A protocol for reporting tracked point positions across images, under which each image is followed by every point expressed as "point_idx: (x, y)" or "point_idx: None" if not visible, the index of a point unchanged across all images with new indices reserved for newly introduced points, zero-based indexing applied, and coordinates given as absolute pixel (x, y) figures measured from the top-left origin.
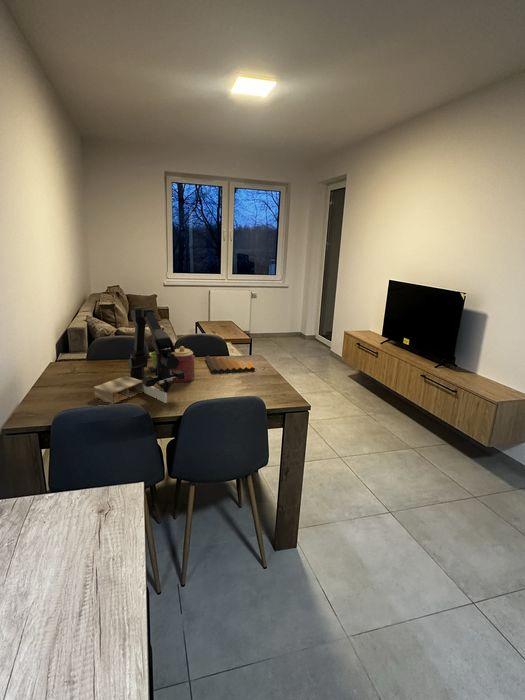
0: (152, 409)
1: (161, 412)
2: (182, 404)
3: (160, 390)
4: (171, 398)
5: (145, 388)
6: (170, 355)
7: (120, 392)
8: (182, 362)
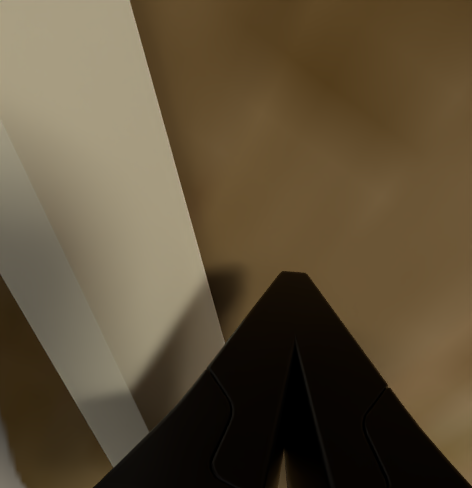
0: (7, 403)
1: (87, 484)
2: None
3: (134, 443)
4: (404, 275)
5: None
6: None
7: None
8: None
